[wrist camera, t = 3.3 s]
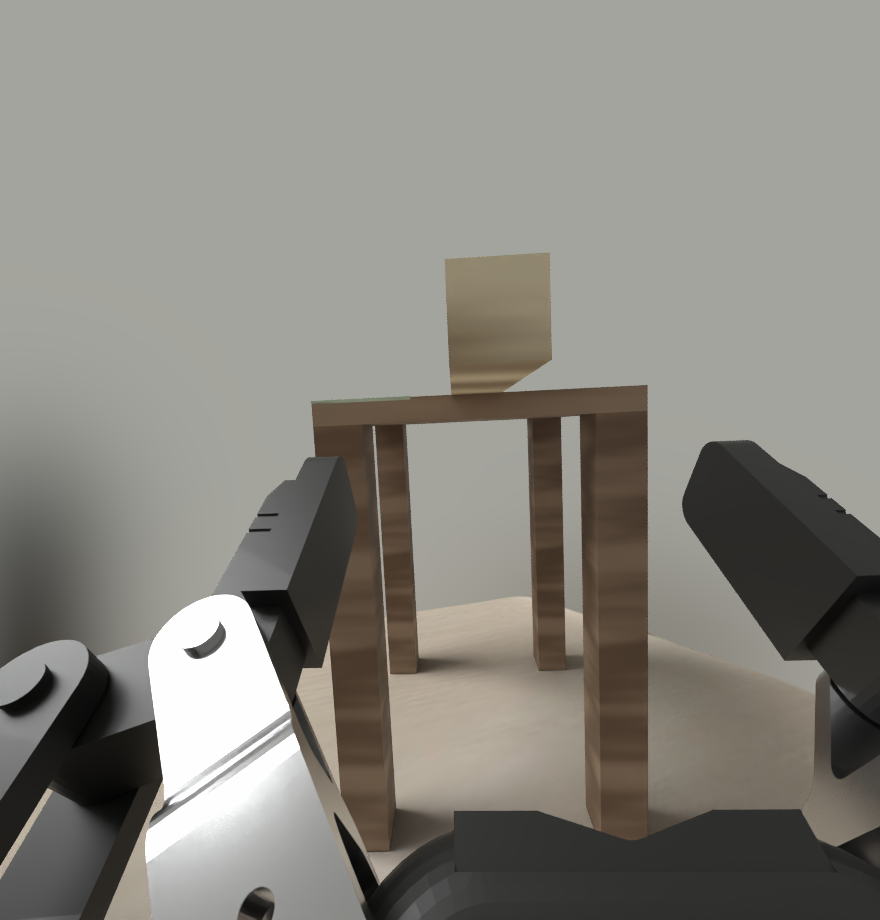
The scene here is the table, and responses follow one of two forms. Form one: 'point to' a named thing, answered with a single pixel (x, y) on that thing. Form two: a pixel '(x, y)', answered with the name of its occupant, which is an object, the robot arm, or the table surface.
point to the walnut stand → (604, 584)
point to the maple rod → (497, 320)
